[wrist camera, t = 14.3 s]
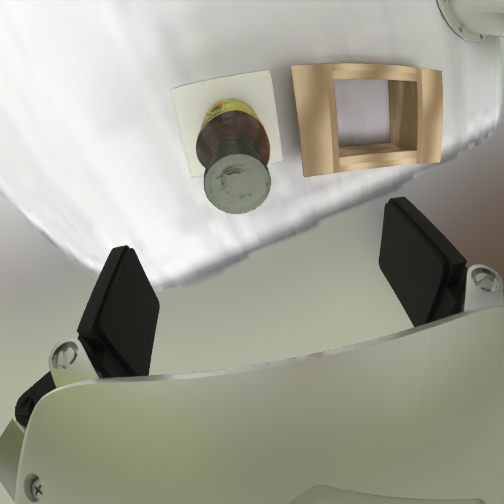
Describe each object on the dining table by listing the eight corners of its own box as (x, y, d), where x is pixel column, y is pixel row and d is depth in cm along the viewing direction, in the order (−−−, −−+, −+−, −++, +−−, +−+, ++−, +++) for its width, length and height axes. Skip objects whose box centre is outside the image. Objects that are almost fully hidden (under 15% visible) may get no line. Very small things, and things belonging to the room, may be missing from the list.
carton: (411, 66, 30) (441, 70, 24) (412, 146, 37) (440, 162, 32) (278, 66, 30) (291, 65, 24) (290, 158, 37) (304, 177, 32)
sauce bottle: (212, 92, 30) (201, 110, 14) (262, 106, 32) (308, 142, 16) (197, 141, 34) (174, 214, 17) (246, 154, 35) (270, 236, 19)
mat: (268, 70, 30) (270, 70, 29) (281, 158, 37) (283, 160, 36) (171, 89, 30) (169, 89, 29) (192, 175, 37) (191, 178, 36)
